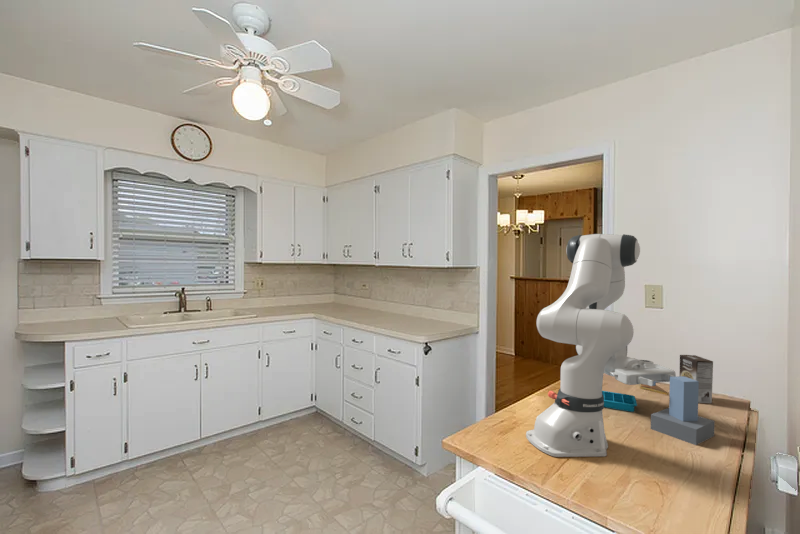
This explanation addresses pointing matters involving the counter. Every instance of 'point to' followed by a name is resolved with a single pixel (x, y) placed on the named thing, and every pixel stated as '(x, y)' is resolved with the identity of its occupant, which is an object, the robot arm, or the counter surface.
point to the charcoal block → (682, 427)
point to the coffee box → (698, 374)
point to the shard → (653, 389)
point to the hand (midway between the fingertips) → (666, 382)
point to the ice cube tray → (619, 401)
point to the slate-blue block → (683, 398)
